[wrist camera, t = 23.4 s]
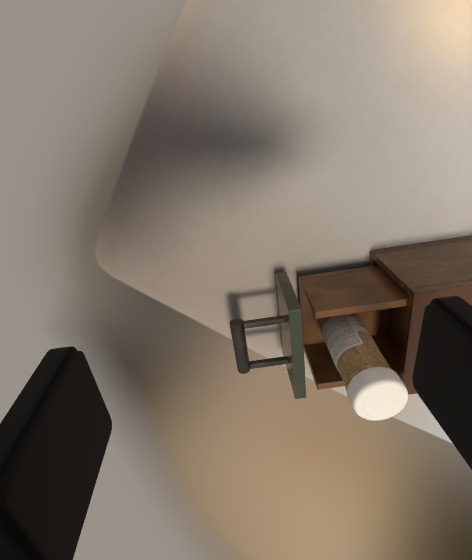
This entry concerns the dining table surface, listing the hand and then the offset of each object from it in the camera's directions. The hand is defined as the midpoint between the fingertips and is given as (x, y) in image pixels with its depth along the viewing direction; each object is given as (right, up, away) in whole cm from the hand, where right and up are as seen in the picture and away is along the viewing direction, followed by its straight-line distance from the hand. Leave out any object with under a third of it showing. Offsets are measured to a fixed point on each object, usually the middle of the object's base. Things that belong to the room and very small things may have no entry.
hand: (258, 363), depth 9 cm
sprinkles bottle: (+11, -1, +30) cm, 32 cm away
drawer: (+8, -1, +31) cm, 32 cm away
